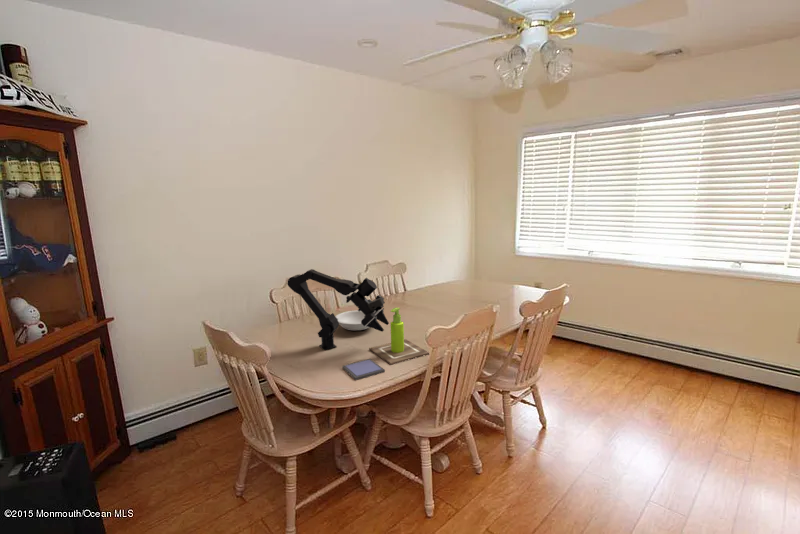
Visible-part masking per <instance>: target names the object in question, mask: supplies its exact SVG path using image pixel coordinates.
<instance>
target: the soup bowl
mask: <svg viewBox="0 0 800 534" xmlns="http://www.w3.org/2000/svg"><path fill="white" fill-rule="evenodd" d="M364 316H365V315H364V314H363V313H362V312H361V311H358V309H357V310H347V311H344V312H340V313H338V314H336V315H335V317H336V318H337V319H338V322H339V327H340V326H341V327H342V328H343V329H345V330H348V331H363V330H367V329H369V328H370V327H368V326H367V327H366V325H367V324H366V325H365V326H363V325H362V324H361V321H362V319H363V318H364Z"/></svg>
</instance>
